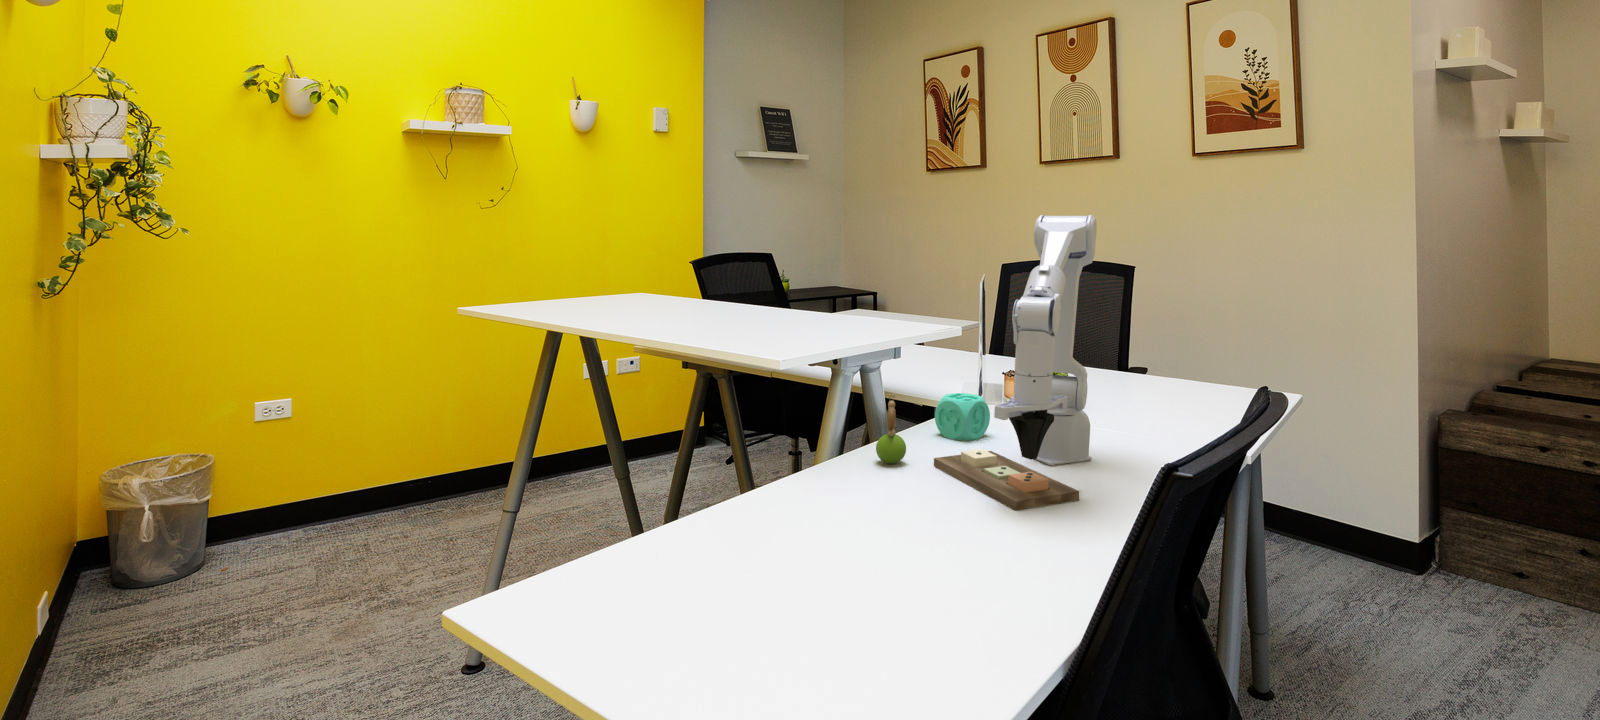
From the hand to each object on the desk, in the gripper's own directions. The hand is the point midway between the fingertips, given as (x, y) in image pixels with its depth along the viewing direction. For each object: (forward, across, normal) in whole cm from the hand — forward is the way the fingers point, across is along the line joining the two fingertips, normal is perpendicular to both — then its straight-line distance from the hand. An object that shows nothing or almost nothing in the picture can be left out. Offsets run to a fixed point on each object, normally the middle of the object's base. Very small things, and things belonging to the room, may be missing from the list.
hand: (1029, 457), depth 131 cm
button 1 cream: (+5, -3, -14) cm, 15 cm away
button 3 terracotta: (+6, 0, 0) cm, 6 cm away
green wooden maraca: (+6, +7, -26) cm, 28 cm away
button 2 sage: (+6, -1, -7) cm, 9 cm away
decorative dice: (+6, -17, -32) cm, 37 cm away
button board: (+6, -1, -7) cm, 9 cm away
